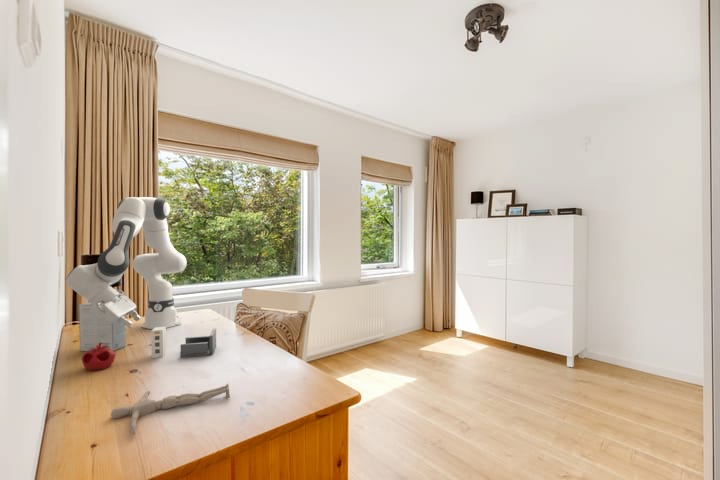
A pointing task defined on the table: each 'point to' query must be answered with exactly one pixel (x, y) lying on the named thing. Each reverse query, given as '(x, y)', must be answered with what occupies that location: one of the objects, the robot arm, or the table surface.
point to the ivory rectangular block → (158, 342)
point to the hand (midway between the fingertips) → (135, 322)
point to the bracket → (199, 345)
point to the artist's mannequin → (164, 404)
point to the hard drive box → (98, 330)
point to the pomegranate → (98, 358)
